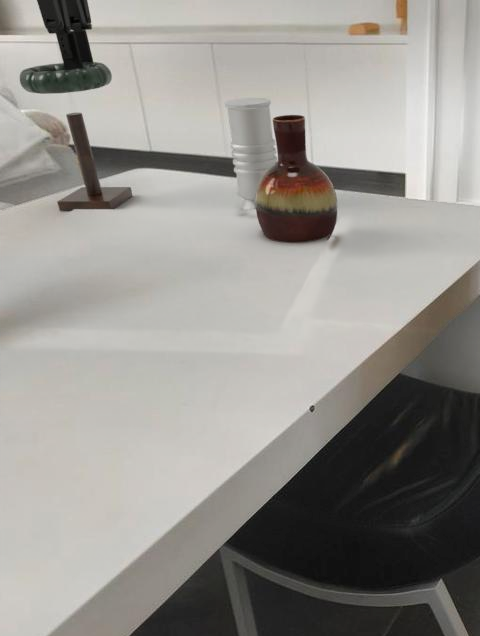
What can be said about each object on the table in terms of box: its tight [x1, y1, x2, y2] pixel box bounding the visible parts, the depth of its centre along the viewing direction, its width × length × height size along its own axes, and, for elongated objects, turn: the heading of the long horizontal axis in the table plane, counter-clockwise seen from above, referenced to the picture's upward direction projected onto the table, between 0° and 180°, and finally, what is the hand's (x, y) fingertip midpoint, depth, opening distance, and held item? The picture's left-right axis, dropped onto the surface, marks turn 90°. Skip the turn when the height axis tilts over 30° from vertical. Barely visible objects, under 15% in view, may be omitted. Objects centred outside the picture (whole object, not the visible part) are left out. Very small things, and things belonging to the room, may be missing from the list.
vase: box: [255, 114, 338, 243], centre depth 91 cm, size 11×11×15 cm
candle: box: [224, 97, 278, 210], centre depth 106 cm, size 7×7×15 cm
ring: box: [19, 61, 113, 95], centre depth 104 cm, size 13×13×3 cm
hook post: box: [56, 112, 133, 212], centre depth 112 cm, size 9×9×14 cm
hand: (83, 80), depth 109 cm, fingers closed on ring, 3 cm apart
